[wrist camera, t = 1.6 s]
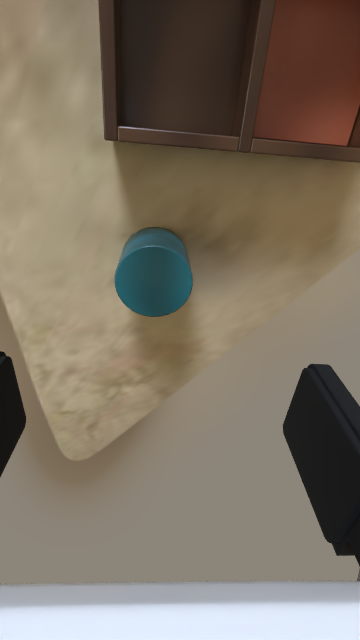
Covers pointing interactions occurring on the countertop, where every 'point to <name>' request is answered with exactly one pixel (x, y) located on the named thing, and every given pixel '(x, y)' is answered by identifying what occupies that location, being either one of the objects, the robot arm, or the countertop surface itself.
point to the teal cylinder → (154, 273)
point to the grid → (233, 75)
